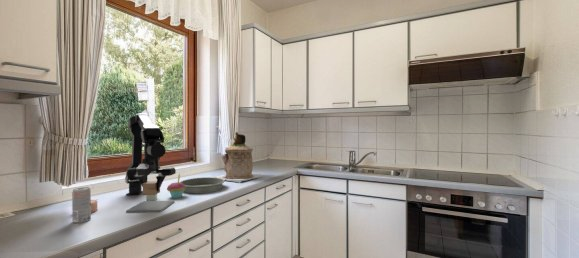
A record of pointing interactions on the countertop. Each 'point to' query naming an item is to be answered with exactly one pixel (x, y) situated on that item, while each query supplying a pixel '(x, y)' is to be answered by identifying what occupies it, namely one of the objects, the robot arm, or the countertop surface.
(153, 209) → the slate trivet
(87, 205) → the energy drink
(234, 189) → the countertop surface
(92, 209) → the light brown block
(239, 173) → the cookie jar
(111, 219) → the countertop surface
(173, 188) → the cupcake
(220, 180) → the cake pan
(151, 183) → the walnut cube
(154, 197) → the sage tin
